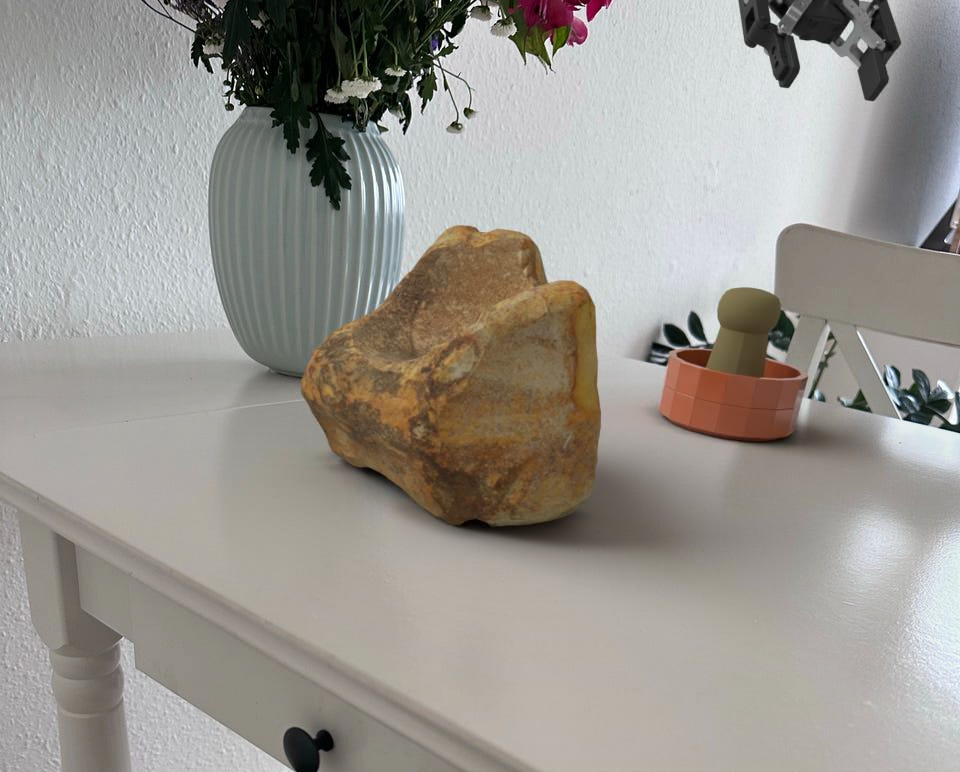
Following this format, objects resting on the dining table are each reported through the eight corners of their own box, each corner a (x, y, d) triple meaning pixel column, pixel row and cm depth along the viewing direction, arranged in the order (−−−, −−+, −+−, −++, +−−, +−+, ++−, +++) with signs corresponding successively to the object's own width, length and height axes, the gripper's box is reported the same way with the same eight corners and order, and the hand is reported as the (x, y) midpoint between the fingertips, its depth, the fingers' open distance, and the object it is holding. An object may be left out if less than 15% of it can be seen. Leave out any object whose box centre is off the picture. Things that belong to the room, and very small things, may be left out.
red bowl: (751, 411, 92) (765, 353, 90) (816, 448, 82) (834, 383, 80) (637, 404, 89) (649, 344, 87) (690, 442, 79) (705, 374, 77)
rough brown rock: (298, 433, 71) (285, 214, 64) (515, 426, 75) (527, 218, 67) (319, 570, 52) (304, 277, 44) (612, 552, 55) (644, 278, 48)
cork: (702, 405, 89) (730, 281, 84) (766, 420, 87) (798, 293, 82) (680, 416, 85) (708, 284, 80) (747, 432, 82) (779, 297, 77)
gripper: (751, -110, 83) (784, 37, 78) (893, -80, 86) (933, 61, 82) (710, -28, 90) (739, 111, 85) (843, -4, 93) (878, 130, 89)
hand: (834, 86), depth 84 cm, fingers open, 8 cm apart
